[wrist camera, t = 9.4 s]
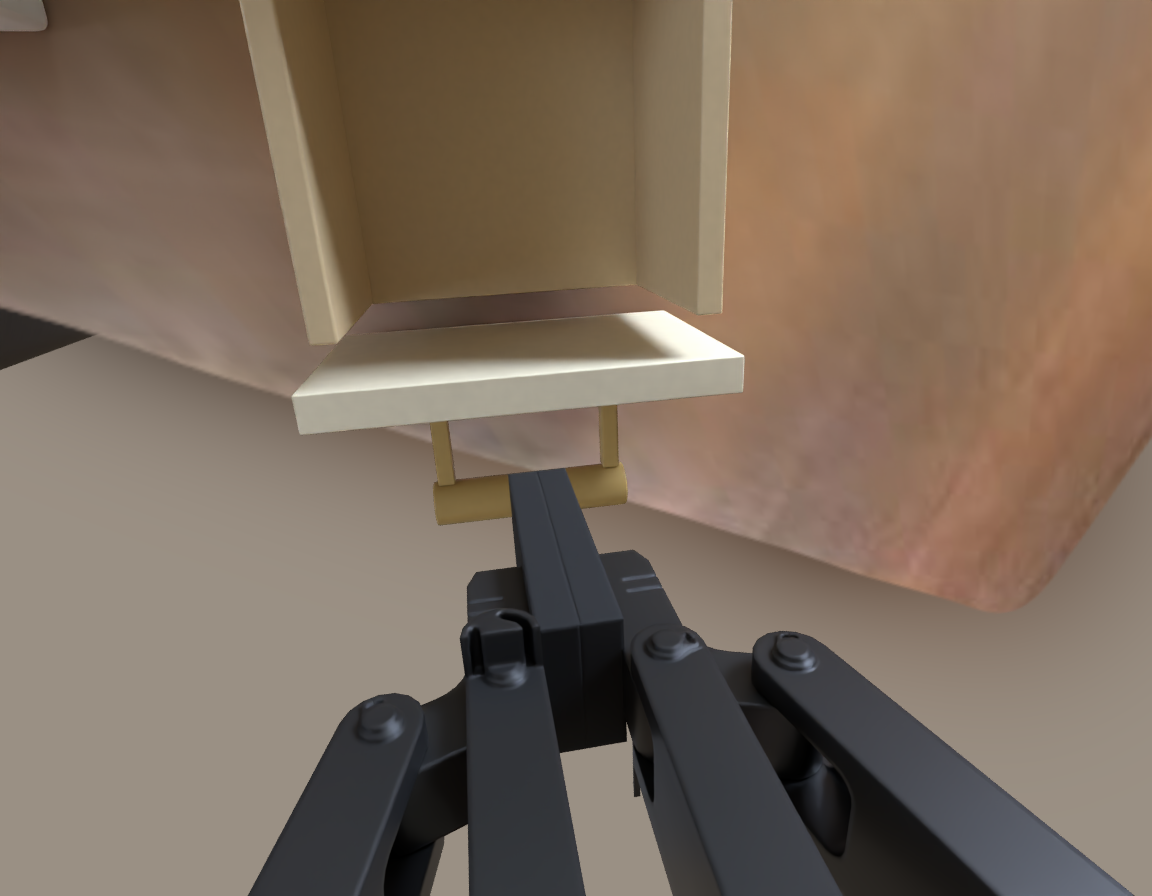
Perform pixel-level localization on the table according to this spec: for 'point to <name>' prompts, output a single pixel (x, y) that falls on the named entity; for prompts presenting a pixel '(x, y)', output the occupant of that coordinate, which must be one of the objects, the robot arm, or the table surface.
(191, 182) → the table surface
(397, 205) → the drawer
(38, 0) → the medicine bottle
